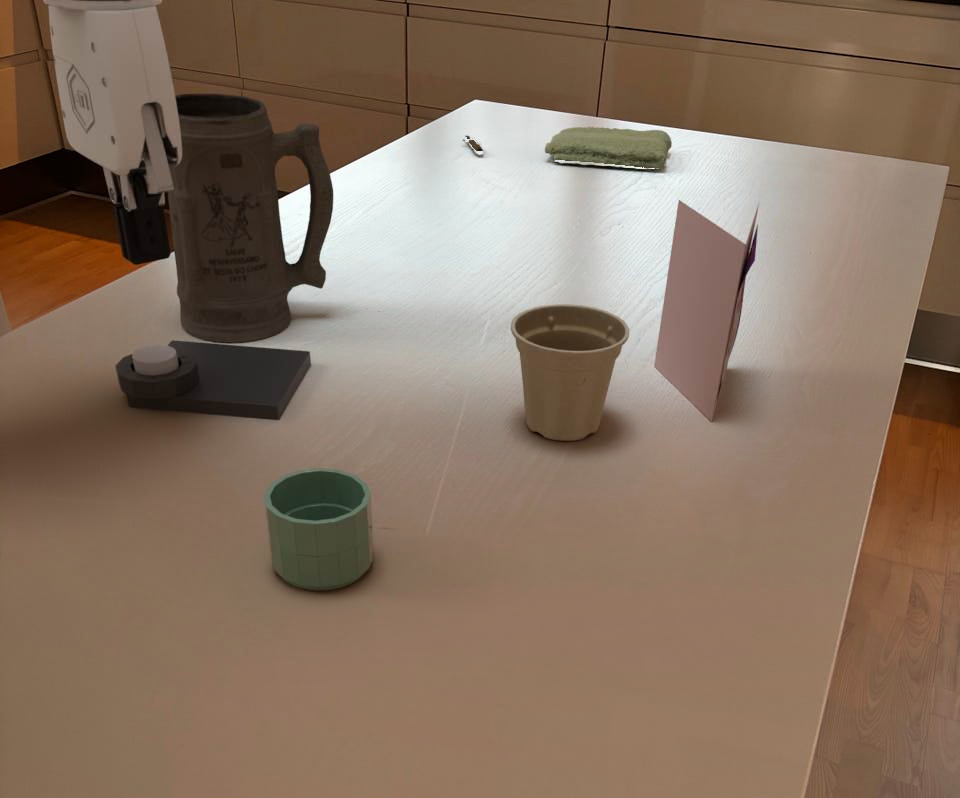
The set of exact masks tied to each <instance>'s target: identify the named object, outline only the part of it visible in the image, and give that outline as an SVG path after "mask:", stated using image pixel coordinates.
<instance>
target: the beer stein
mask: <svg viewBox="0 0 960 798" xmlns="http://www.w3.org/2000/svg"><path fill="white" fill-rule="evenodd" d="M175 98H176V104H177V110H178V117H179V124H180V132H181V141H182V159H181V161H180V163H179V164H178V165H177V166H176V167H169V169H170V173H171V177H172V181H173V191H170V192H167V200H168V208H169V218H170V229H171V237H172V244H173V245H172V246H173V253H174V260H175V267H176V278H177V279H176V280H177V285H176V295H177V297H178V300H179V306H180V307H179V310H180V311H179V312H180V313H179V315H180V316H179V317H180V324H181V327H182V328H183V329H184V331H186V332H187V333H188V334H190V335H192V336H194V337H195V336H196V338H198V339H201V340H205V341H211V342H216V343H248V342H254V341H258V340H263V339H268V338H270V337H273V336H275V335H277V334H280V333H283V331H285V330H286V329H287V328H288V326H289V325H290V323H291V321H292V313H291V308H290V305H289V301H288V295H289V293H290V292H291V291H292V289H294V288H296V287H298V286H303V285H307V286H309V287H313V288H317V289H321V290H322V289H323V288H324V285H325V283H326V279H327V278H326V277H327V271H326V269H325V268H324V266H323V265H322V263H321V261H320V259H321V253H322V249H323V246H324V244H325V240H326V237H327V235H328V232H329V228H330V225H331V223H332V216H333V211H334V187H333V181H332V177H331V173H330V169H329V167H328V164H327V162H326V159H325V156H324V154H323V151H322V148H321V142H320V127H319V125H317V124H314V123H307V122H303V123H301V122H300V123H299V124H298V125H297V126H296V127H295V128H294V129H293V130H288V131H284V132H279V133H276V132H274V131H273V130H274V129H273V126H272V122H271V120H270V118H269V115H268V111H267V107H266V105H265V103H264V102H262V101H261V100H260V99H259V100H258V99H255V98H252V97H248V96H243V95H236V94H235V95H234V94H225V93H224V94H222V93H181V94H177V95H176V94H175ZM293 156H294V157H296V158H298V159H300V161H301V162H302V164H303V166H304V167H305V169H306V171H307V175H308V176H307V177H308V184H309V193H310V195H309V196H310V201H309V203H310V204H309V216H308V223H307V230H306V234H305V238H304V243H303V247H302V250H301V254H300V256H299V258H298V260H297V261H296V262H295V263H289V262H288V261H287V258H286V251H285V246H284V240H283V231H282V222H281V215H280V203H279V193H278V185H277V179H276V166H277V163H278V162H279V161H280V160H281V159H282V158H284V157H293Z"/></svg>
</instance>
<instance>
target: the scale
mask: <svg viewBox="0 0 960 798" xmlns="http://www.w3.org/2000/svg"><path fill="white" fill-rule="evenodd" d="M166 346H170V347H172V348H174V349H175V350H176V352H177V358H178V364H179V368H178V369H177V370H175V371H173V372H170V373H168V374H162V375H155V376H151V375H141V374H139V373H136V371H135V368H134V362H133V357H132V354H133V353H131V354H127V355H125V356H124V357H122V358H121V359H120V360H119V361H118V362H117V363H116V364H115V371H116V376H117V380H118V385H119V388H120V390H121V392H122V393H124V394H125V395H126V401H127V404H128V408H132V409H133V408H134V409H144V410H154V411H168V412H177V413H191V414H202V415H214V416H225V417H238V418H249V419H260V420H262V419H263V420H272V421H279V420H280V419H281V417H282V416H283V414H284V412H285V411H286V408H287V407H288V405H289V404H290V402H291V400H292V398H293V397H294V395H295V394H296V392H297V390H298V388H299V386H300V385H301V384H302V381H303V380H304V378H305V376H306V374H307V373H308V371H309V369H310V368H311V366H312V362H311V361H312V360H311V350H310V351H309V350H297V349H286V348H285V349H284V348H274V347H273V348H272V347H259V346H247V345H236V344H223V343H222V344H221V343H211V342H199V341H185V340H174V339H172V340H170V342H169V343H168V344H166Z"/></svg>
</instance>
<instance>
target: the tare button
mask: <svg viewBox="0 0 960 798" xmlns="http://www.w3.org/2000/svg"><path fill="white" fill-rule="evenodd" d="M131 354H132V357H133V362H134V368H135V371H136V373H139V374H141V375H151V376H155V375H162V374H168V373H170V372H173V371H175V370H177V369H178V368H179V364H178V358H177V352H176V350H175V349H174V348H172V347H170V346H167V344H150V345H149V344H148V345H145V346H142V347H139V348H136V350H134V351H133V352H132V353H131Z"/></svg>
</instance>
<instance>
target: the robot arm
mask: <svg viewBox="0 0 960 798" xmlns="http://www.w3.org/2000/svg"><path fill="white" fill-rule="evenodd" d="M42 1H43V3H44V4H45V5H48V18H49V19H48V22H49V33H50V40H51V42H50V43H51V47H52V48H51V49H52V56H53V64H54V71H55V75H56V83H57V89H58V96H59V101H60V108H61V113H62V120H63V125H64V131H65V135H66V139H67V142H68V143H69V145H70V147H71V148H72V149H73V150H75V151H76V152H77V153H78V154H80V155H82V156H83V157H85V158H86V159H88V160H90V161H92V162H93V163H95V164H97V165H98V166H101V167H102V170H103V173H104V177H105V178H104V179H105V182H106V186H107V190H108V194H109V197H110V200H111V202H112V203H113V206H112V208H113V212H114V217H115V222H116V223H115V224H116V228H117V235H118V239H119V244H120V250H121V253H122V254H121V255H122V257H123V258H124V259H125V260H127V261H128V262H130V263H131V264H132V265H135V266H137V265H138V266H139V265H142V264H143V265H144V264H148V263H153V262H157V261H162V260H167V259H169V258H170V257H171V247H170V240H169V234H168V228H167V221H166V214H165V208H164V206H165V204H166V199H165V198H166V197H165V193H168V192H170V191H173V181H172V177H171V173H170V169H169V167H176V166H177V165H178V164H179V163H180V161H181V159H182V141H181V132H180V124H179V117H178V110H177V104H176V98H175V96H176V93H175V88H174V83H173V77H172V71H171V65H170V62H169V56H168V51H167V47H166V42H165V38H164V34H163V30H162V27H161V26H162V25H161V21H160V18H159V13H158V10H157V6H158V5H160V4H162V3H163V0H42Z"/></svg>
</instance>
